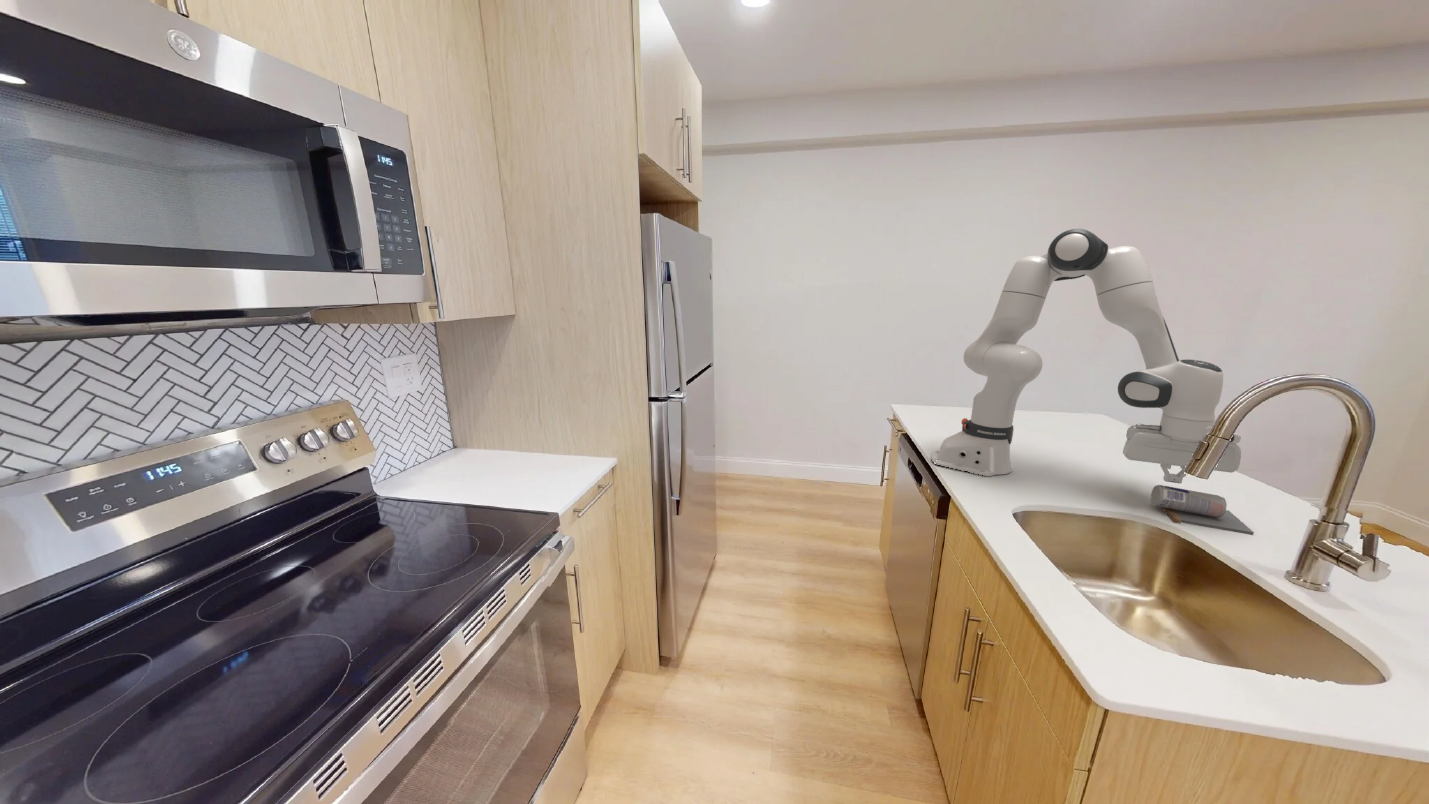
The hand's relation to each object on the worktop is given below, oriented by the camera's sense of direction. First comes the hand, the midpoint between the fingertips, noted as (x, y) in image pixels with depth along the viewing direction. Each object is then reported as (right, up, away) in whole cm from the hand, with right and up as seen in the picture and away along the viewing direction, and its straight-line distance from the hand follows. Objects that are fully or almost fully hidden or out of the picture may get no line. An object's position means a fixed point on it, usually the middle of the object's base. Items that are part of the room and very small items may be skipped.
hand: (1172, 481), depth 114 cm
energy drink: (-3, -4, +2) cm, 5 cm away
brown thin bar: (0, -8, +2) cm, 8 cm away
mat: (+6, -8, -2) cm, 11 cm away
